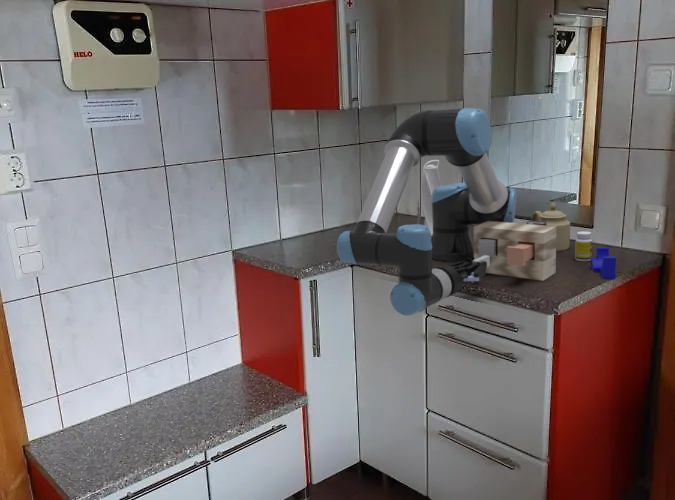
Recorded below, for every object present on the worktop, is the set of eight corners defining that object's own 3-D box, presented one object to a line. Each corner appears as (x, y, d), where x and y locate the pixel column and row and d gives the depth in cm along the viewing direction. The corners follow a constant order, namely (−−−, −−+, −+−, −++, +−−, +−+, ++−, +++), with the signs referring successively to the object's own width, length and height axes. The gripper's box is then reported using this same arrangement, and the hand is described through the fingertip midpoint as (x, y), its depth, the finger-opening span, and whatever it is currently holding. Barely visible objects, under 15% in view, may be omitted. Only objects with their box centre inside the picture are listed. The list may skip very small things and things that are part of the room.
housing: (474, 271, 187) (473, 226, 183) (488, 263, 193) (487, 220, 190) (543, 280, 173) (543, 233, 170) (555, 272, 180) (556, 226, 177)
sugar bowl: (517, 247, 211) (518, 202, 207) (533, 240, 218) (534, 197, 215) (560, 252, 201) (561, 206, 197) (575, 245, 208) (576, 200, 205)
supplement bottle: (593, 261, 189) (593, 234, 187) (576, 261, 190) (577, 234, 188) (590, 257, 193) (591, 230, 191) (573, 257, 194) (574, 231, 192)
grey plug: (478, 255, 182) (478, 239, 181) (498, 245, 191) (498, 230, 190) (494, 257, 179) (494, 240, 178) (513, 247, 188) (513, 231, 187)
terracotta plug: (506, 264, 172) (506, 247, 170) (525, 253, 181) (526, 237, 180) (523, 266, 169) (523, 248, 167) (542, 255, 178) (542, 239, 177)
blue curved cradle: (590, 267, 184) (591, 247, 182) (607, 267, 183) (607, 247, 181) (597, 279, 173) (598, 258, 171) (614, 279, 172) (615, 258, 170)
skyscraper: (432, 231, 243) (430, 159, 236) (447, 234, 236) (445, 160, 230) (415, 235, 238) (413, 161, 231) (431, 238, 232) (429, 162, 225)
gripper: (416, 294, 154) (465, 270, 171) (463, 303, 146) (510, 277, 163) (415, 264, 152) (465, 244, 169) (463, 271, 144) (510, 249, 161)
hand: (487, 260), depth 166 cm, fingers closed
